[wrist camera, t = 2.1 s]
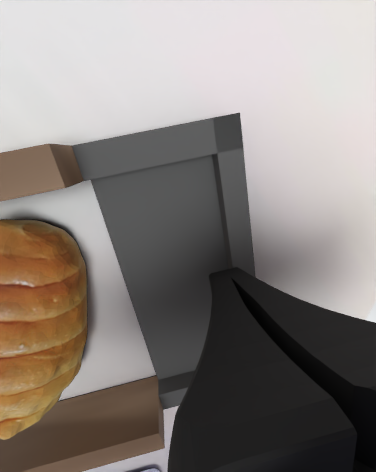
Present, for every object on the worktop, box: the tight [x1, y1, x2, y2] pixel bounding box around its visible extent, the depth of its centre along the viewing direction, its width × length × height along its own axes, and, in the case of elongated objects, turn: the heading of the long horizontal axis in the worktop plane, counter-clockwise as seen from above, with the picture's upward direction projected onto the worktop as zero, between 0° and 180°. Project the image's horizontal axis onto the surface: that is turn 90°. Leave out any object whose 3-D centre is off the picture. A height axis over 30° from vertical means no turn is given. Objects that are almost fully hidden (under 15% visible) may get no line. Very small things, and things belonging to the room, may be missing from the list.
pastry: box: [0, 219, 87, 440], centre depth 9 cm, size 9×7×4 cm
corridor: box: [0, 144, 165, 472], centre depth 10 cm, size 14×9×3 cm, turn 11°
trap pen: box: [72, 113, 255, 410], centre depth 11 cm, size 14×6×1 cm, turn 11°
